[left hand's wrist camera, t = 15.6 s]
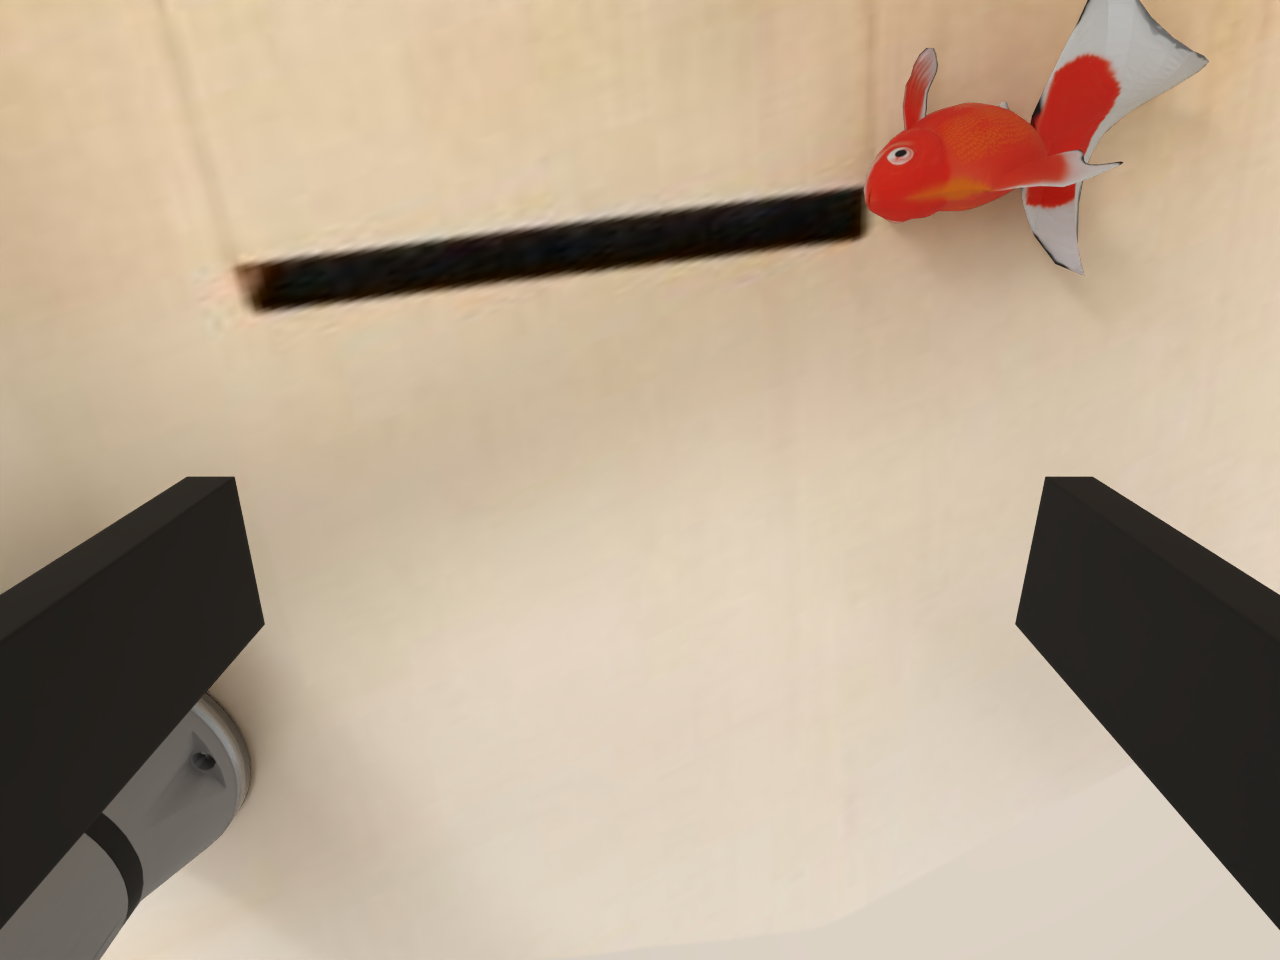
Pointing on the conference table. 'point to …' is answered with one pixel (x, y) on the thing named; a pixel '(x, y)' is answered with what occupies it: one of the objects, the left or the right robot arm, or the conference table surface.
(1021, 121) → the fish
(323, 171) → the conference table surface
